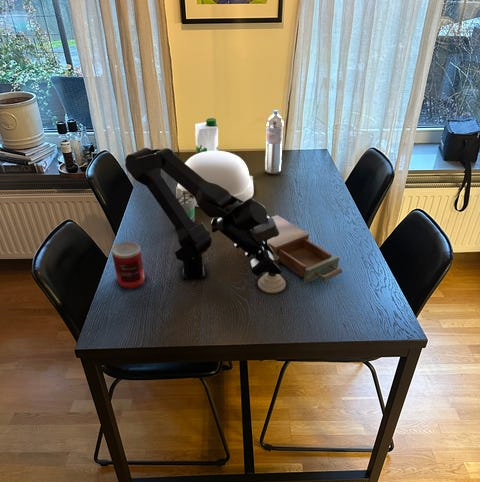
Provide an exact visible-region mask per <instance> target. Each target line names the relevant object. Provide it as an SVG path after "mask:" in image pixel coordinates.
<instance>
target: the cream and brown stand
mask: <svg viewBox="0 0 480 482" xmlns="http://www.w3.org/2000/svg"><path fill="white" fill-rule="evenodd" d="M273 257H274V262H275V264H276V265H277V266H278V263H277V262H278V260H279V256H278V255H276V254H273ZM286 286H287V282H286V280H285V279H284V278H283V276H281V274H274V273H268V272H265V273H264V274H263V275H262V276H261V277H260V278H258V280H257V287H258V288H259V290H261V291H263V292H265V293H268V294H269V293H270V294H276V293H280V292H283V291H284V289H286Z"/></svg>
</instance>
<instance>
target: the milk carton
mask: <svg viewBox="0 0 480 482" xmlns="http://www.w3.org/2000/svg"><path fill="white" fill-rule="evenodd" d="M194 127H195V150H196V151H195V152H196V154H198V153H202V152H206V151H219V127H218V124H217V119H216V118H214V117H211V118H210V117H209V118H206V122H200V123H195V124H194Z"/></svg>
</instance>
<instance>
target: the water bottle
mask: <svg viewBox="0 0 480 482" xmlns="http://www.w3.org/2000/svg"><path fill="white" fill-rule="evenodd" d="M272 113H273V114H272V115H270V116H269V117H268V119H267V120H266V133H265V134H266V135H265V152H264V153H265V154H264V172H265V173H266V174H267V175H271V176H272V175H273V176H274V175H278V174H280V173H281V169H282V155H283V151H282V150H283V135H284V126H285V122H284V119H283V118H282V116H281V115H280V114H279V110H278V109H274V110H273V112H272Z"/></svg>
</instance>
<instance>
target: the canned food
mask: <svg viewBox="0 0 480 482" xmlns="http://www.w3.org/2000/svg"><path fill="white" fill-rule="evenodd" d="M111 254H112V260H113V264H114V270H115V274H116V280H117V282H118V284H119V286H121V287H122V288H124V289H136V288H139V287H141V286H142V285H143V284H144V283H145V278H146V276H145V271H144V264H143V257H142V251H141V247H140V245H139V244H138V243H137V242H134V241H121V242H119V243H118V242H117V243H115V244H114V245H113V246H112V248H111Z"/></svg>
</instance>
